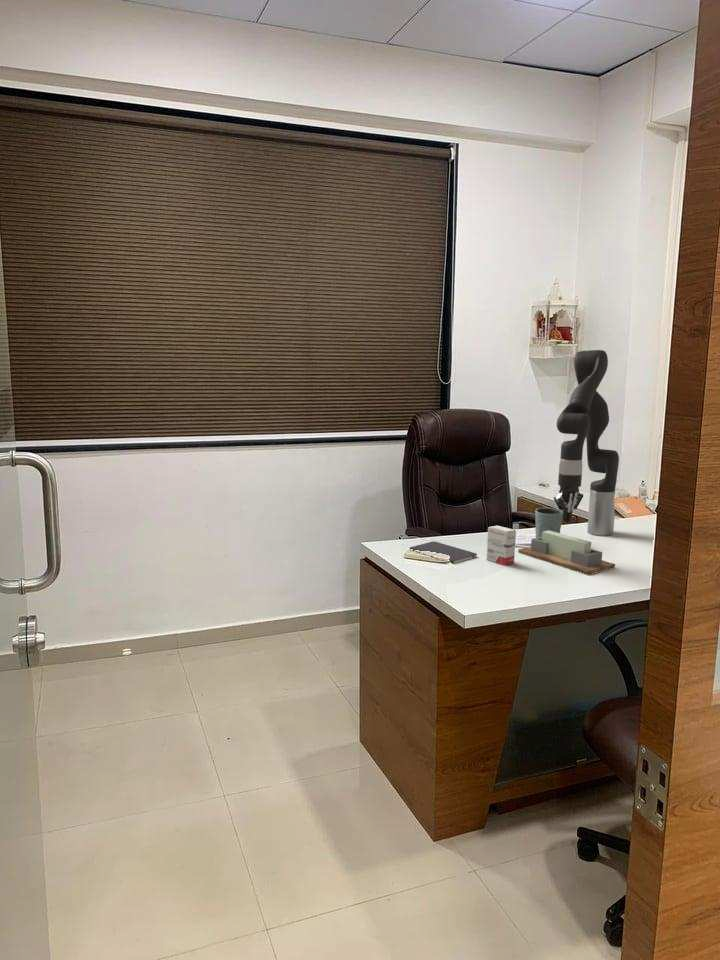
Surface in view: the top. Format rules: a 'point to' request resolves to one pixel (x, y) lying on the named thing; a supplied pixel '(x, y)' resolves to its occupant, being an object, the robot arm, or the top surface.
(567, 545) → the pale green block
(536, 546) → the end cap
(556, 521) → the grey green cup
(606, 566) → the mounting board
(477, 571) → the top surface
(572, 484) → the robot arm
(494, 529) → the ink box
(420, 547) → the notebook
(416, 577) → the top surface
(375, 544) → the top surface
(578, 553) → the end cap
